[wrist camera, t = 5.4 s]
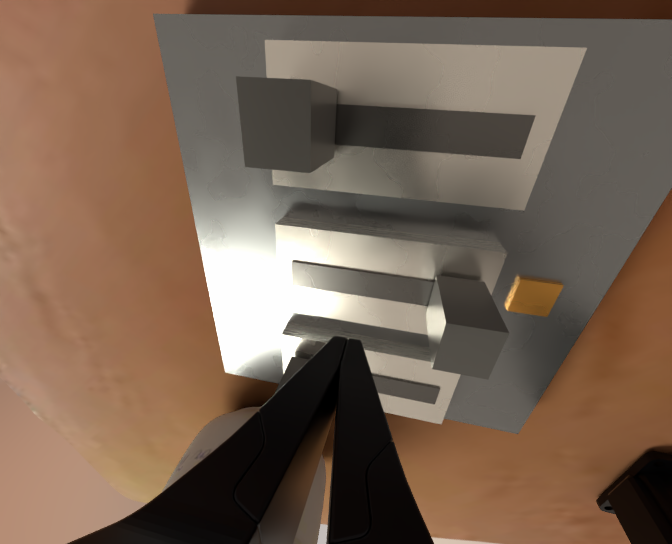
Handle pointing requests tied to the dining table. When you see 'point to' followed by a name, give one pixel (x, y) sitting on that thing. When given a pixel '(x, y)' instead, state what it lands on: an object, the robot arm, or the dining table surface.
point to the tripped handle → (464, 327)
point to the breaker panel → (424, 188)
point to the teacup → (220, 433)
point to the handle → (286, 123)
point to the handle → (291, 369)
